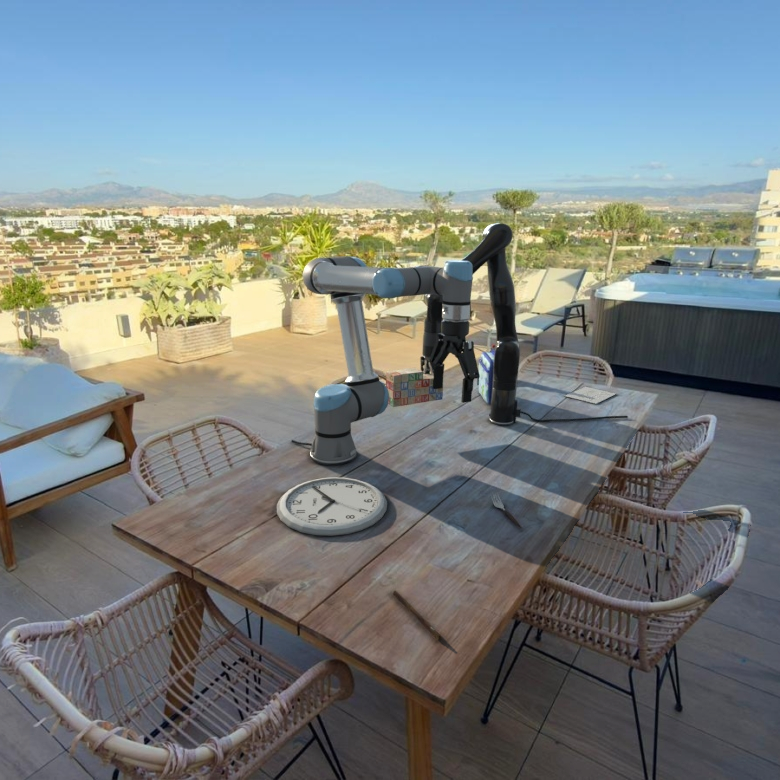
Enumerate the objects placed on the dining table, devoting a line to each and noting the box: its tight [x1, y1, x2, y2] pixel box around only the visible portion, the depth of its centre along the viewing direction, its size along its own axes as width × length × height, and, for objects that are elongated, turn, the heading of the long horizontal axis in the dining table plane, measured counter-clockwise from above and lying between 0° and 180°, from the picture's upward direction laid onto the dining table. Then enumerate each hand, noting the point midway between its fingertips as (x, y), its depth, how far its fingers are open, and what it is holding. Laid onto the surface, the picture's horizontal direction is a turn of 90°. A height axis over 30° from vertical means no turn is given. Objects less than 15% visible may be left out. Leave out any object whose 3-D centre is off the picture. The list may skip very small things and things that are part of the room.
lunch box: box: [476, 349, 495, 406], centre depth 230 cm, size 26×11×21 cm, turn 179°
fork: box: [489, 492, 523, 529], centre depth 139 cm, size 3×16×2 cm, turn 15°
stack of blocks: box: [385, 367, 444, 408], centre depth 197 cm, size 21×6×12 cm, turn 116°
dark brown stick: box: [392, 590, 441, 641], centre depth 102 cm, size 15×1×1 cm, turn 34°
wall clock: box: [276, 476, 388, 537], centre depth 142 cm, size 30×2×30 cm
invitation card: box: [564, 386, 616, 405], centre depth 242 cm, size 21×1×15 cm
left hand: (451, 394), depth 147 cm, fingers open, 13 cm apart
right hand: (431, 386), depth 200 cm, fingers closed on stack of blocks, 6 cm apart
